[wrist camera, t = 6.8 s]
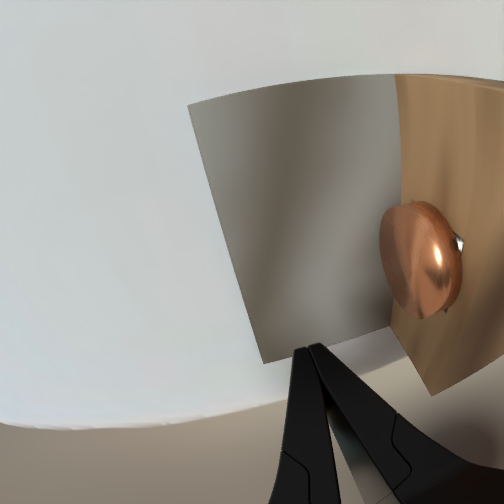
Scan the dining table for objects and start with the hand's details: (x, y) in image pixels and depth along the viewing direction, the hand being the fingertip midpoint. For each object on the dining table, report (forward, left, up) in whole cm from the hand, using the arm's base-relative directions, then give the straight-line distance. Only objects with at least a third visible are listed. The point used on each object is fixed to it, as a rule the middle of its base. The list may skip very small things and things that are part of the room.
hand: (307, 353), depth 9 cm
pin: (-7, -7, -5) cm, 11 cm away
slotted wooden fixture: (-5, -5, -6) cm, 9 cm away
